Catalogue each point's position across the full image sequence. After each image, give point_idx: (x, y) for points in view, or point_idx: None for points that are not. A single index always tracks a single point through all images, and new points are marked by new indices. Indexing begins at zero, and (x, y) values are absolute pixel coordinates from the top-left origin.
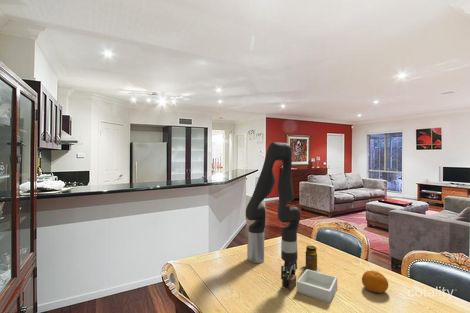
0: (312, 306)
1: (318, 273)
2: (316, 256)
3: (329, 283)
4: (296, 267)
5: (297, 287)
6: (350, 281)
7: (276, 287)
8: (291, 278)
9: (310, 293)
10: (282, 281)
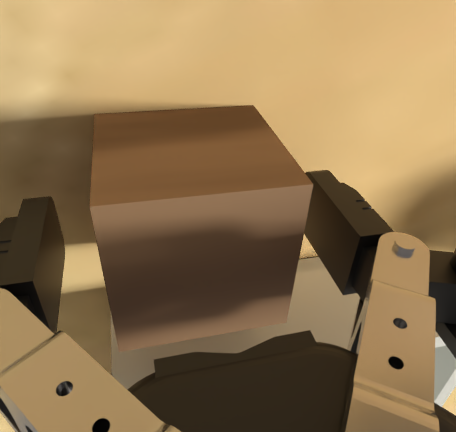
0: (6, 425)
1: None
2: None
3: None
4: (451, 328)
5: (111, 340)
6: (448, 402)
7: (16, 38)
8: (151, 329)
9: None
10: (94, 163)
